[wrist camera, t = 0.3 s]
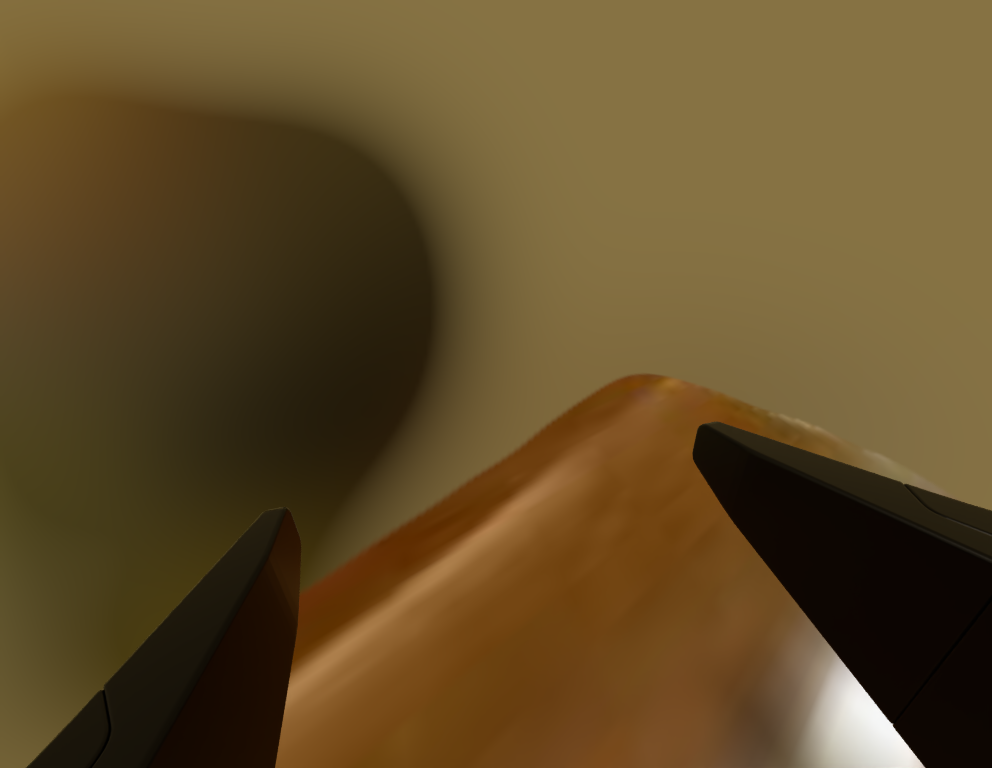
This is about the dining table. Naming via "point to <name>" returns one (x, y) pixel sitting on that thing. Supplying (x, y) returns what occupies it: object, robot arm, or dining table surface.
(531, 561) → the dining table surface
